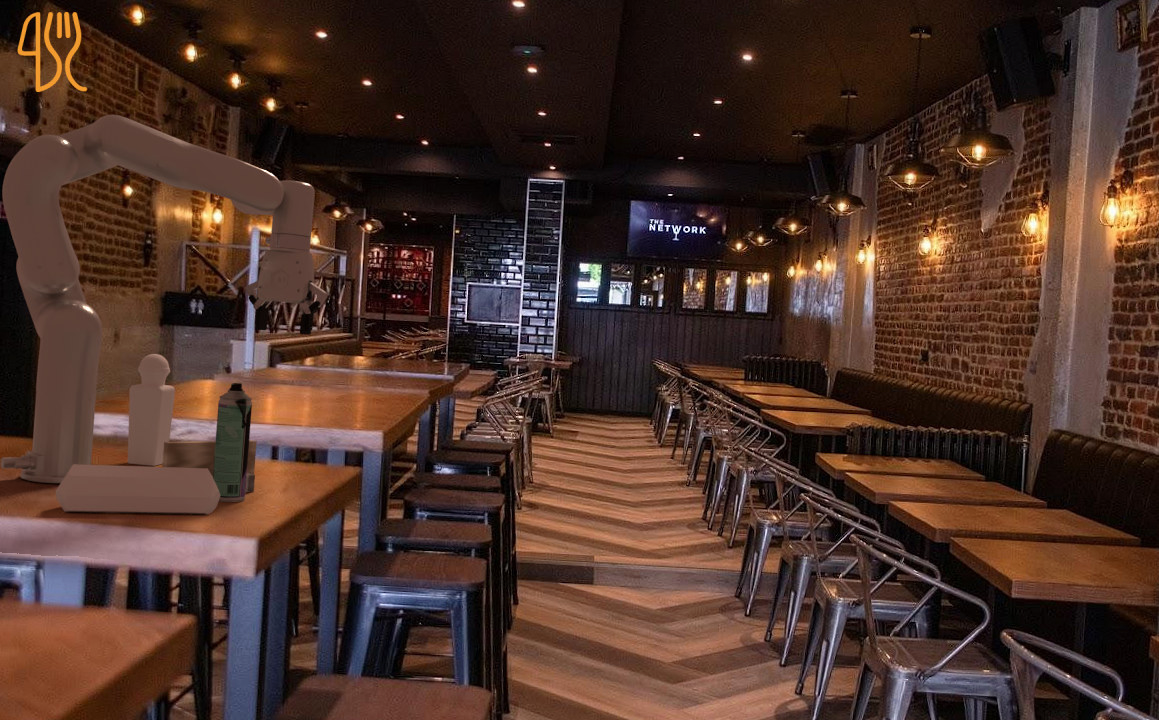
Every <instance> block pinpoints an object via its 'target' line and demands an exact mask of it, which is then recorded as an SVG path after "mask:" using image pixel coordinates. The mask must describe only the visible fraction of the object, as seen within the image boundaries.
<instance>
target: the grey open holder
mask: <svg viewBox="0 0 1159 720" xmlns="http://www.w3.org/2000/svg"><path fill="white" fill-rule="evenodd" d="M215 443H216V440H203V441H202V440H200V441H196V440H195V441H191V440H190V441H169V442H164V451H163V464H161V465H162V466H161V467H176V468H208V470H209V471H210V473H211V475H212V477H213V470H214V456H215ZM256 452H257V441H256V440H254V439H249V451H248V465H247V478H246V492H245V493H254V491H255V482H256V481H255V480H256V475H255V466H256V454H257V453H256Z"/></svg>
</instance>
